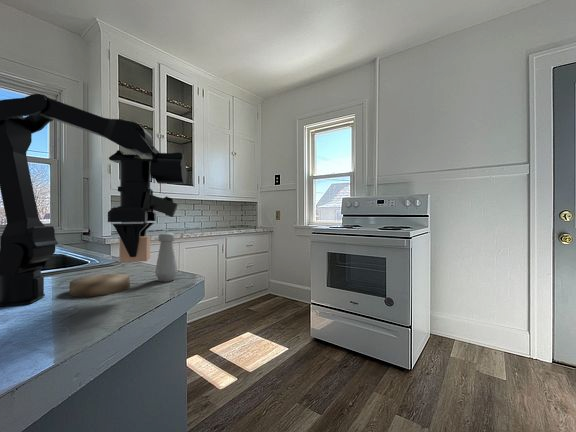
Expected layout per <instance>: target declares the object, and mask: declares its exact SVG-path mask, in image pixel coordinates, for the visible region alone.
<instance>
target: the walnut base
mask: <svg viewBox="0 0 576 432" xmlns="http://www.w3.org/2000/svg"><path fill="white" fill-rule="evenodd" d="M130 279H131V276H130V275H129V274H124V273H123V274H122V273H110V274H109V273H108V274H98V275H90V276H84V277H83V276H82V277H80V278H79V277H78V278H76V279H73V280H70V281H69V295H70V296H73V297H84V298H85V297H97V296H107V295H111V294H115V293H121V292H123V291H126V290H128V289H130V288H131V287H130V286H131V284H130V283H131V280H130Z"/></svg>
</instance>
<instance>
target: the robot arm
mask: <svg viewBox="0 0 576 432" xmlns="http://www.w3.org/2000/svg"><path fill="white" fill-rule="evenodd" d="M53 121H56V122H59V123H62V124H63V125H64V124H65V125H68V126H71V127H73V128H75V129H79V130H82V131H84V132H88V133H89V134H94V135H97V136H99V137H103V138H105V139H107V140H109V141H111V142H113V143H115V144H117V145H118V146H119V147H122V148H123V149H125V150H127V151H129V152H131V154H127V153H126V154H125V153H124V152H123V151H121V150H120V149H119V150H118V149H117V151H116V152H115V153H113V154H111V155H110V156H108V159H109V161H111V162H112V163H113V162H114V163H116V164H119V168H120V171H119V175H120V176H119V177H120V178H119V179H120V180H119V182H120V183H119V184H120V186H117V192H118V193H119V196H120V199H119V201H120V204H119V205H120V206H113V207H112V208H111V209H110V210H109V211H108V212H107V223H112V226H113V227H114V229H115V231H116V232H117V234H118V236H119V239H120V238H121V240H122V242H123V244H124V246H125V248H126V250H127V252H128V254H129V256H130V257H136V255H137V250H138V245H139V239H140V236H146V234H147V231H148V229H150V228H151V226H153V225H154V224H155V222H157V213H156V212H158V213H162V214H164V215H165V216H168V217H171V218H174V216H175V214H176V211H177V207H178V206H179V204H178V203H176V202H174V199H173V198H171V197H169V196H167V195H166V196H165V197H164V198H161V197H159V196H157V195H154V190H152V189H151V179H153V180H155V181H156V183H157V184H160V185H161V184H163V185H164V184H165V185H168V184H169V185H170V184H172V185H186V183H187V179H188V170H187V167H186V161H185V154H183V152H170V153H169V152H160V151H159V150H157V148H156V147H155V146H154V139H153V137H152V135H151V133H149V131H147V130H146V129H145V128H144V127H142V126H141V125H140V124H139V123H137V122H135V121H131V120H125V119H121V118H120V119H119V118H107V117H103V116H101V115H98V114H95V113H92V112H89V111H87V110H83V109H81V108H78V107H75V106H72V105H69V104H66V103H64V102H61V101H58V100H56V99H53V98H51V97H49V96H46V95H45V94H41V93H32V94H29V95H26V96H25V97H18V98H8V99H7V98H6V99H0V195H1V200H2V205H3V209H4V215H5V219H6V224H5V227H4V229H3V230H2V233H1V235H0V307H9V306H10V307H11V306H21V305H30V304H32V303H34V302H36V301H38V300H41V298H44V297H45V296H46V294H45V292H44V291H45V284H44V283H45V280H44V279H45V277H44V276H43V275H42V269H45V268H46V266H47V264H48V262H49V259H51V258H52V256H53V255H54V254H55V252H56V246H57V245H59V242H58V241H57V239H56V233H55V231H56V230H55V228H54V226H52V225H51V226H50V225H49V226H46V225H45V224H44V223H43V222H42V221H41V219H40V215H39V212H38V207H37V202H36V196H35V191H34V188H33V182H32V178H31V173H30V167H29V163H28V157H27V152H28V150H29V148H30V146H31V144H32V140H33V139H32V138H33V137H32V136H33V134H35V133H37V132H39V131H42V130H43V129H44V128H45V127H47V125H48V124H49V123H50V122H53ZM132 153H133V154H132ZM141 156H146V157H148V158H141Z"/></svg>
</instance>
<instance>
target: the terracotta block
mask: <svg viewBox="0 0 576 432" xmlns="http://www.w3.org/2000/svg"><path fill="white" fill-rule="evenodd" d="M150 259H151V236H150V235H147V236H146V235H145V236H140V239H139V245H138V250H137V255H136V257H130V256H129V254H128V252H127V250H126V248H125V246H124V244H123V242H122V240H121V238H120V237H119V263H135V262H136V263H138V262H139V263H140V262H147V261H148V262H149V260H150Z"/></svg>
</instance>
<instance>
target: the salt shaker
mask: <svg viewBox="0 0 576 432" xmlns="http://www.w3.org/2000/svg"><path fill="white" fill-rule="evenodd" d="M157 239H158V240H157V241H158V242H160V243H159V250H158V255H157V260H156V266H155V271H154V273H155V276H156V278H157V280H158V281H159V282H172V280H173V281H174V280H175V279H176V276H177V274H178V273H179V270H178V266H177V265H178V264H177V259H176V253H175V248H174V247H175V246H174V241H176V236H175V234H174V233H173V232H162V233H159V234H158V237H157Z"/></svg>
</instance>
